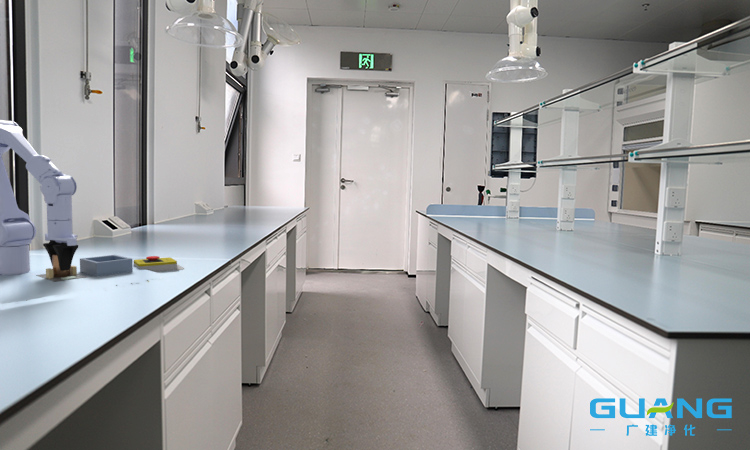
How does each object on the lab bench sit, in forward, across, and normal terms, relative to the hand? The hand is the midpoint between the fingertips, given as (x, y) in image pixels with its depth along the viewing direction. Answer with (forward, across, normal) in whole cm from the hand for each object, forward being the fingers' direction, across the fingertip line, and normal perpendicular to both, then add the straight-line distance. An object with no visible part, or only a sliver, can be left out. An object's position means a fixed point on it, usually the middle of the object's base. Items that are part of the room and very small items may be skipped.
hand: (61, 268), depth 130 cm
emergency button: (+4, -3, -26) cm, 26 cm away
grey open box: (+3, -2, -11) cm, 12 cm away
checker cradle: (+3, 0, 0) cm, 3 cm away
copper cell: (+2, 0, 0) cm, 2 cm away
